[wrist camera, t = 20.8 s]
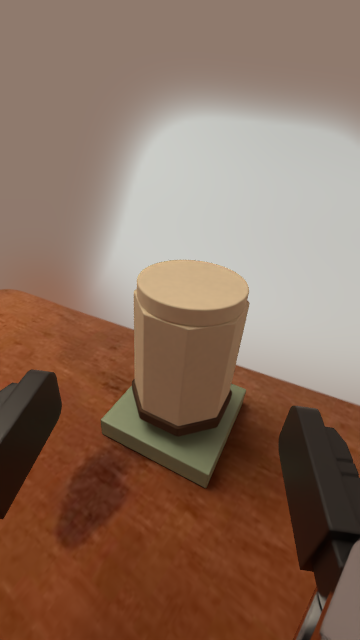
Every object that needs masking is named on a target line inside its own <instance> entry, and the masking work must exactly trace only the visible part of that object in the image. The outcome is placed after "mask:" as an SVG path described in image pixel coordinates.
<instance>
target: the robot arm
mask: <svg viewBox="0 0 360 640" xmlns="http://www.w3.org/2000/svg"><path fill="white" fill-rule="evenodd" d="M61 407H62V403H61V397H60V393H59V388H58V383H57V378H56V375H55V373H53V372H47V371H39V370H30V371H28V372H27V373H26V374H25V376H24V377H23V378H22V380H21V381H20V382H19V383H18V384H17V383H11V384H10V385H8V386H7V387H5V388H4V389H2V390H1V391H0V519H4V517H5V515H6V513H7V511H8V510H9V508H10V506H11V504H12V502H13V501H14V499H15V497H16V495H17V493H18V491H19V490H20V488H21V486H22V484H23V482H24V481H25V479H26V477H27V475H28V473H29V472H30V470H31V468H32V466H33V464H34V463H35V461H36V459H37V457H38V455H39V454H40V452H41V450H42V448H43V446H44V445H45V443H46V441H47V439H48V437H49V436H50V434H51V432H52V430H53V428H54V426H55V425H56V423H57V421H58V419H59V416H60V413H61ZM279 456H280V461H281V467H282V472H283V478H284V483H285V489H286V494H287V500H288V505H289V511H290V516H291V522H292V527H293V533H294V538H295V544H296V549H297V555H298V560H299V566H300V570H306V571H312V572H314V575H315V580H316V584H317V587H316V588H315V590H314V592H313V595H312V597H311V599H310V602H309V604H308V606H307V608H306V611H305V613H304V615H303V617H302V620H301V622H300V624H299V626H298V629H297V631H296V633H295V636H294V638H293V640H360V478H359V477H358V475H359V474H358V471H357V469H356V466H355V464H353V459H352V456H351V454H350V451H349V449H348V446H347V444H346V442H345V441H344V440H343V439H342V438H341V436H340V435H339V434H338V433H337V431H336V430H335V429H334V428H330V427H325V426H324V423H323V420H322V417H321V414H320V412H319V411H318V409H315V408H308V407H300V406H292V407H291V408H290V411H289V413H288V416H287V418H286V421H285V423H284V426H283V428H282V431H281V433H280V437H279Z"/></svg>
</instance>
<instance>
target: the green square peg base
mask: <svg viewBox="0 0 360 640" xmlns="http://www.w3.org/2000/svg"><path fill="white" fill-rule="evenodd" d="M230 389H231V391H232V396H231V400H230V402H229V404H228V406H227V408H226V410H225V413H224V415H223V417H222V419H221V421H220V423H219V425H218V427H216V428H212V429H208V430H204V431H200V432H196V433H191V434H187V435H183V436H179V437H178V436H175V435H173V434H170V433H168V432H166V431H164V430H162V429H160V428H158V427H156V426H154V425H152V424H150V423H148V422H146V421H144V420H142V419H141V418H139V414H138V410H137V406H136V402H135V399H134V395H133V391H132V386H131V387H130V388H129V389H128V390H127V392H126V393H125V394H124V395H123V396H122V397H121V398H120V399H119V400H118V401H117V403H116V404H115V405H114V406H113V407H112V408H111V409H110V410H109V411H108V413H107V414H106V415H105V416H104V417H103V418H102V419H101V428H102V434H104V435H106V436H108V437H110V438H112V439H113V440H115V441H117V442H119V443H121V444H123V445H125V446H127V447H129V448H130V449H132V450H134V451H136V452H138V453H140V454H142V455H144V456H146V457H147V458H149V459H151V460H153V461H155V462H157V463H159V464H161V465H163V466H164V467H166V468H168V469H170V470H172V471H174V472H176V473H178V474H180V475H181V476H183V477H185V478H187V479H189V480H191V481H193V482H195V483H197V484H198V485H200V486H202V487H204V488H206V487H207V485H208V483H209V480H210V478H211V476H212V473H213V471H214V469H215V466H216V464H217V462H218V459H219V457H220V455H221V452H222V450H223V448H224V445H225V443H226V441H227V438H228V436H229V434H230V431H231V429H232V427H233V424H234V422H235V420H236V417H237V415H238V413H239V410H240V408H241V405H242V403H243V400H244V396H245V393H246V389H243V388H241V387H238V386H236V385H233V384H231V387H230Z"/></svg>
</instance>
